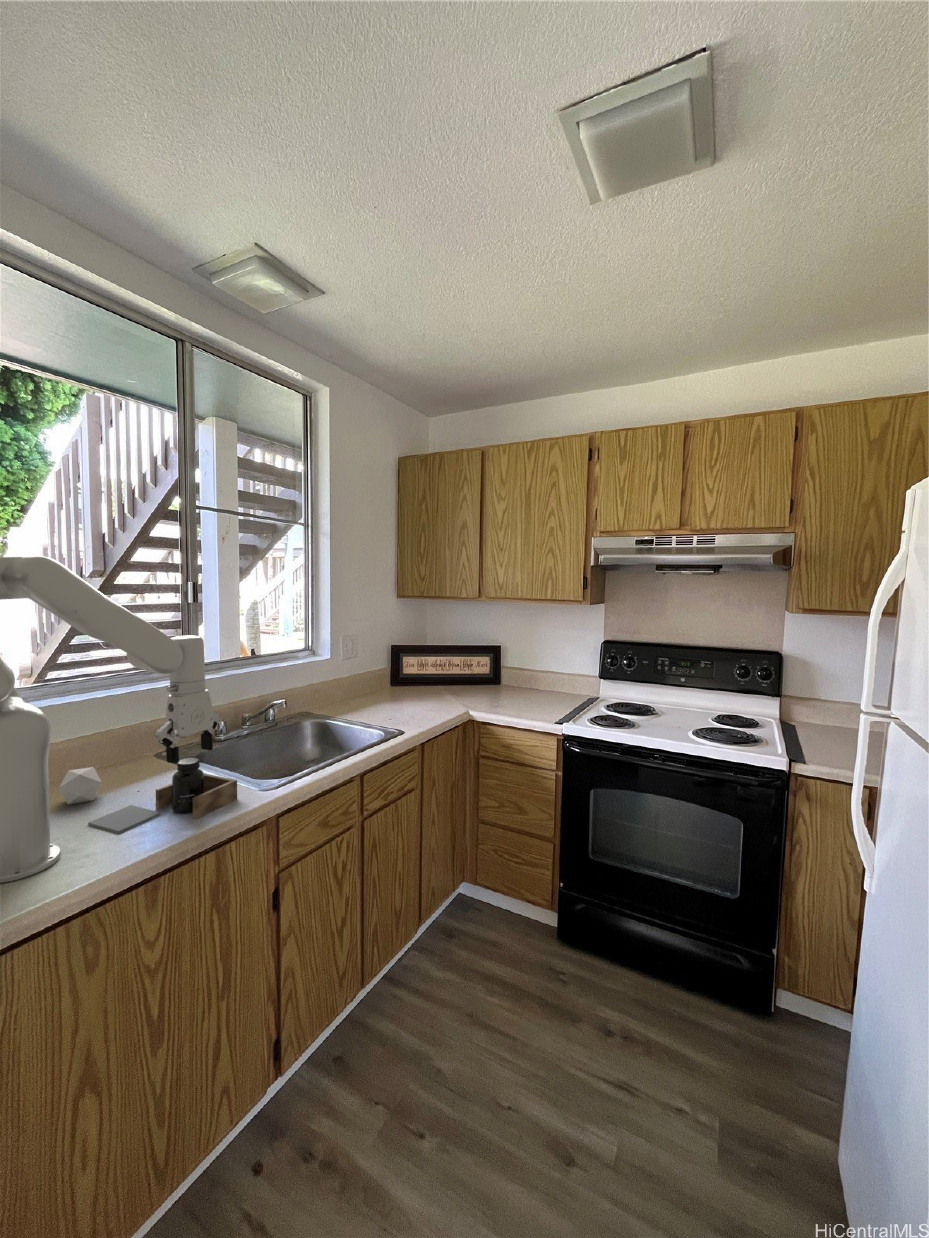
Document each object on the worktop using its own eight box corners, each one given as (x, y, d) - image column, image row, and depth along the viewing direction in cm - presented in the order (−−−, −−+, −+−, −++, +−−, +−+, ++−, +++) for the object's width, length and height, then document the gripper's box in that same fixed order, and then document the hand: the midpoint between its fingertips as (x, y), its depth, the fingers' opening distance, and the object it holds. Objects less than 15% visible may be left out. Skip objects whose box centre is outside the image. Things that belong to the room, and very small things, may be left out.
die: (105, 793, 133) (81, 764, 132) (114, 785, 128) (89, 755, 127) (72, 815, 126) (46, 785, 125) (80, 807, 121) (54, 776, 120)
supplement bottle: (182, 817, 119) (182, 767, 118) (166, 810, 122) (165, 762, 121) (209, 806, 125) (209, 759, 124) (193, 800, 128) (192, 754, 127)
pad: (119, 833, 110) (119, 830, 110) (88, 825, 114) (88, 822, 114) (160, 814, 120) (160, 812, 120) (131, 807, 123) (131, 804, 123)
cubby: (196, 819, 118) (195, 798, 118) (155, 809, 122) (155, 789, 122) (237, 799, 130) (237, 780, 129) (199, 790, 134) (199, 772, 134)
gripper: (167, 696, 112) (170, 770, 114) (228, 681, 129) (230, 746, 130) (143, 693, 115) (146, 766, 116) (205, 679, 131) (208, 743, 133)
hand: (190, 755), depth 123 cm, fingers open, 9 cm apart
